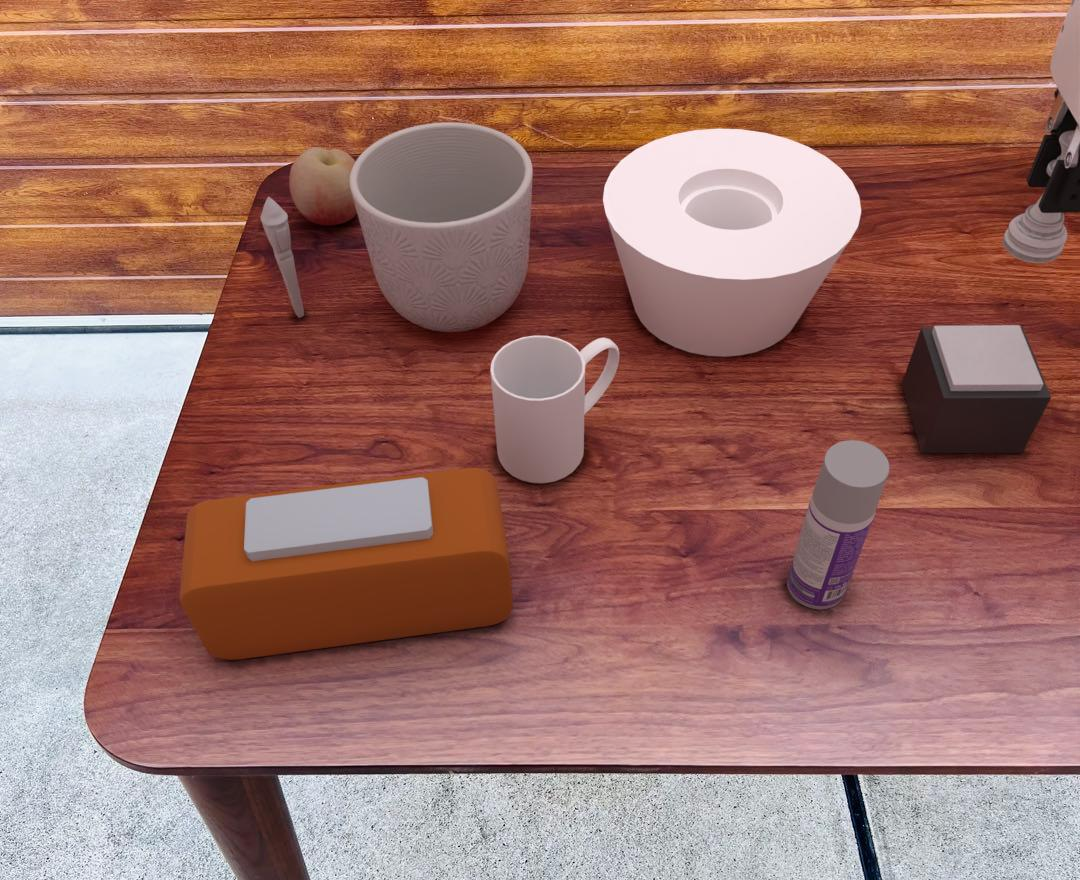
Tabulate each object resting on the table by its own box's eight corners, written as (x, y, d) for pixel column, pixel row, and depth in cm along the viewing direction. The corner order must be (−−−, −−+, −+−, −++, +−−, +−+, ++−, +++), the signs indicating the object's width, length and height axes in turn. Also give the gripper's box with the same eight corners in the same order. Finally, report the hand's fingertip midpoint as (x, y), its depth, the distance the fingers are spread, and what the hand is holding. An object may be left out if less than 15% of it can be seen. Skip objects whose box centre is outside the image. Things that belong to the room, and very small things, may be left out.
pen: (306, 304, 105) (275, 185, 94) (317, 318, 104) (286, 199, 93) (284, 313, 105) (250, 194, 93) (294, 327, 103) (261, 208, 92)
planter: (564, 325, 102) (563, 193, 90) (409, 377, 98) (386, 247, 86) (497, 234, 112) (488, 104, 100) (352, 279, 108) (324, 149, 96)
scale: (999, 383, 96) (1029, 319, 90) (1025, 453, 90) (1059, 390, 84) (901, 383, 96) (923, 319, 90) (920, 453, 91) (946, 390, 84)
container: (842, 564, 83) (887, 440, 71) (847, 611, 80) (895, 490, 69) (785, 561, 84) (820, 436, 72) (788, 607, 81) (825, 486, 69)
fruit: (364, 238, 112) (351, 174, 106) (292, 238, 112) (276, 174, 106) (373, 196, 117) (361, 132, 110) (304, 196, 117) (289, 133, 111)
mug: (528, 498, 88) (524, 414, 80) (481, 444, 93) (472, 358, 84) (638, 440, 92) (645, 354, 84) (588, 390, 96) (590, 304, 88)
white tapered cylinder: (880, 340, 100) (913, 238, 90) (662, 408, 95) (672, 308, 85) (760, 209, 113) (778, 108, 104) (564, 262, 108) (563, 161, 99)
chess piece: (1067, 240, 79) (1123, 121, 71) (1051, 271, 77) (1107, 151, 69) (1011, 223, 80) (1059, 104, 73) (994, 253, 78) (1042, 133, 70)
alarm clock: (502, 542, 86) (494, 452, 77) (515, 624, 81) (507, 537, 72) (217, 579, 84) (174, 491, 75) (211, 665, 79) (165, 581, 70)
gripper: (1291, -10, 55) (1141, 265, 70) (1184, -125, 65) (1072, 137, 80) (1152, -8, 56) (1032, 266, 70) (1066, -123, 66) (976, 138, 80)
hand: (1054, 195), depth 75 cm, fingers closed on chess piece, 2 cm apart
